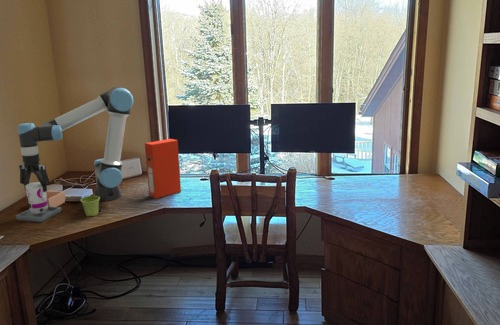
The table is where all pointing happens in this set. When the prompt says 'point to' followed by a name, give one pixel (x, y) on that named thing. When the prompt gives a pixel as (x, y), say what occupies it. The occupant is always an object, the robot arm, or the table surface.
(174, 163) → the file binder
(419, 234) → the table surface
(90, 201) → the plant pot
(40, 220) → the tray
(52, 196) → the holder
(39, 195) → the supplement can
